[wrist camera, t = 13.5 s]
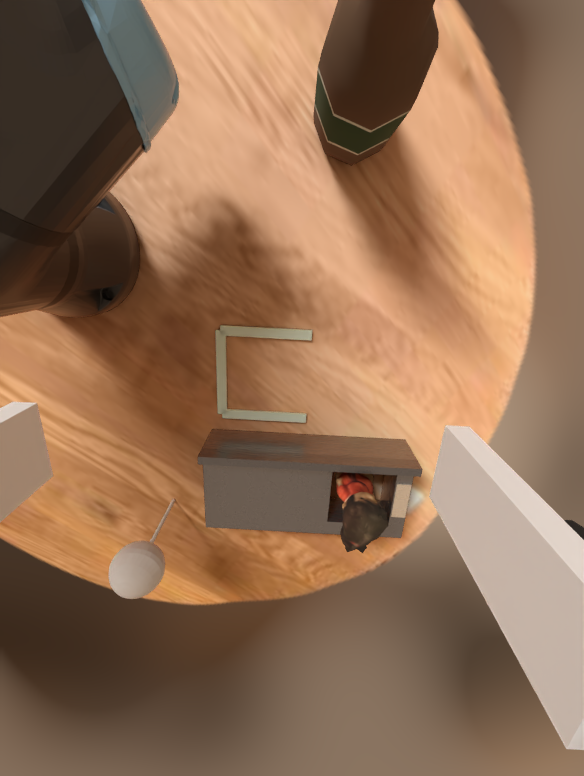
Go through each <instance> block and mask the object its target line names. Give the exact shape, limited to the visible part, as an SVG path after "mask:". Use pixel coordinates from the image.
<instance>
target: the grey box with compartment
mask: <svg viewBox="0 0 584 776" xmlns="http://www.w3.org/2000/svg"><path fill="white" fill-rule="evenodd" d="M198 464H201V465H203V475H204V497H205V518H206V527H214V528H232V529H250V530H268V531H286V532H304V533H322V534H339V535H340V531H341V528H342V526H343V518H342V517H343V508H342V504H343V503H344V502H343V501H342V500H341V499H340V498H331V497H330V491H331V481H332V472H346V473H364V474H382V475H384V480H383V486H382V492H381V498H380V500H376V501H377V503H378V504H379V505H380V506H381V507H382V508H383V509H385V511H386V513H387V520H388V525H389V526H388V527H387V528H386V529H385V530H384V531H383V533H382V534H381V535H380V536H379V537H393V538H401V536H402V531H403V526H404V521H405V516H406V511H407V507H408V502H409V497H410V492H411V487H412V482H413V477H414V476H419V477H421V474H422V468H421V466H420V464H419V463H418V461H417V459H416V457H415V456H414V454H413V452H412V451H411V449H410V447H409V445H408V444H407V442H406V440H401V439H383V438H364V437H346V436H328V435H310V434H291V433H273V432H255V431H237V430H218V429H212V430H211V432H210V434H209V436H208V438H207V440H206V442H205V444H204V446H203V448H202V450H201V452H200V453H199V455H198Z"/></svg>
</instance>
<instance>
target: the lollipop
mask: <svg viewBox="0 0 584 776" xmlns="http://www.w3.org/2000/svg"><path fill="white" fill-rule="evenodd" d="M174 502H175V499H172V501H171V503H170V505H169V507H168V509H167V510H166V512H165V514H164V516H163V518H162V520H161V522H160V524H159V525H158V527H157V529H156V531H155V533H154V535H153V537H152V539H151V540H150V542H149V541H136V542H132V543H130V544H128V545H126V546H124V547H123V548H122V549H121V550H120V551H119V552H118V553H117V554H116V555H115V557H114V558H113V560H112V562H111V564H110V567H109V582H110V585H111V587H112V589H113V590H114V591H115V593H117V594H118V595H119V596H121V597H123V598H128V599H135V598H140V597H143V596H145V595H147V594H148V593H150V592H151V591H152V590H154V589H155V588H156V586H157V585H158V584H159V583H160V581H161V579H162V577H163V575H164V570H165V559H164V555H163V553H162V551H161V550H160V548H159V547H158V546H157V545H155V544H154V541H155V539H156V537H157V535H158V533H159V531H160V529H161V527H162V525H163V523H164V521H165V520H166V518H167V516H168V514H169V512H170V510H171V508H172V506H173V504H174Z"/></svg>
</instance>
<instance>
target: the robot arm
mask: <svg viewBox="0 0 584 776" xmlns="http://www.w3.org/2000/svg"><path fill="white" fill-rule="evenodd" d="M178 99H179V83H178V78H177V74H176V71H175V68H174V65H173V63H172V60H171V58H170V56H169V53H168V51H167V49H166V47H165V45H164V43H163V41H162V39H161V37H160V35H159V33H158V31H157V29H156V27H155V25H154V24H153V22H152V20H151V18H150V16H149V14H148V12H147V10H146V9H145V7H144V5H143V3H142V1H141V0H0V317H3V316H8V315H13V314H18V313H23V312H28V311H33V310H39V311H43V312H47V313H51V314H55V315H59V316H64V317H88V316H92V315H96V314H100V313H103V312H106V311H109V310H111V309H113V308H114V307H116V306H117V305H119V304H120V303H121V302H122V301H123V300H124V299H125V298H126V297H127V296H128V294H129V293H130V292H131V290H132V288H133V286H134V284H135V282H136V279H137V275H138V271H139V263H140V253H139V244H138V239H137V236H136V232H135V230H134V227H133V225H132V222H131V220H130V218H129V216H128V215H127V213H126V211H125V210H124V208H123V207H122V205H121V204H120V203H119V202H118V200H117V199H116V198H115V197H114V196H113V195H112V194H111V193H110V192H109V191H110V190H111V189H112V188H113V186H114V185H115V184H116V183H117V182H118V181H119V179H120V178H121V177H122V176H123V175H124V174H125V173H126V171H127V170H128V169H129V168H130V167H131V166H132V164H133V163H134V162H135V161H136V160H137V159H138V158H139V156H140V155H141V154H142V153H143V152H145V153H147V152H148V151H149V150H150V148H151V141H152V140H153V138H154V137H155V136H156V134H157V133H158V132H159V130H160V129H161V128H162V126H163V125H164V124H165V122H166V121H167V120H168V118H169V117H170V116H171V115H172V113H173V112H174V110H175V108H176V106H177V103H178ZM52 476H53V472H52V468H51V463H50V459H49V455H48V450H47V446H46V441H45V437H44V432H43V428H42V423H41V419H40V414H39V410H38V405H37V403H27V402H12V403H10V404H8V405H6V406H4V407H2V408H0V522H1V521H2V520H3V519H5V518H6V517H7V516H8V515H9V514H10V513H11V512H13V511H14V510H15V509H16V508H17V507H18V506H19V505H21V504H22V503H23V502H24V501H25V500H26V499H27V498H29V497H30V496H31V495H32V494H33V493H34V492H35V491H36V490H38V489H39V488H40V487H41V486H42V485H43V484H44V483H46V482H47V481H48V480H49V479H50V478H51V477H52ZM429 497H430V499H431V501H432V503H433V504H434V506H435V508H436V510H437V512H438V514H439V515H440V517H441V519H442V521H443V523H444V525H445V526H446V528H447V530H448V532H449V534H450V536H451V538H452V539H453V541H454V543H455V545H456V546H457V549H458V550H459V552H460V554H461V556H462V558H463V559H464V561H465V563H466V565H467V567H468V569H469V571H470V572H471V574H472V576H473V578H474V580H475V582H476V584H477V585H478V587H479V589H480V591H481V593H482V595H483V596H484V598H485V600H486V602H487V604H488V606H489V607H490V609H491V611H492V613H493V615H494V617H495V619H496V620H497V622H498V624H499V626H500V628H501V630H502V631H503V633H504V635H505V637H506V639H507V640H508V642H509V644H510V646H511V648H512V650H513V652H514V653H515V655H516V657H517V659H518V661H519V663H520V665H521V666H522V668H523V670H524V672H525V674H526V676H527V677H528V679H529V681H530V683H531V685H532V687H533V688H534V690H535V692H536V694H537V696H538V698H539V699H540V701H541V703H542V705H543V706H544V708H545V710H546V712H547V714H548V716H549V718H550V720H551V721H552V723H553V725H554V727H555V729H556V731H557V732H558V734H559V736H560V738H561V740H562V742H563V744H564V745H565V747H566V749H578V750H584V528H583V527H582V526H580V525H579V524H577V523H576V522H574V521H572V520H563V519H562V518H561V517H560V516H559V515H558V514H557V513H556V512H555V511H554V510H553V509H552V508H551V507H550V506H549V505H548V504H547V503H546V502H545V501H544V500H543V499H542V498H541V497H540V496H539V495H538V494H537V493H536V492H535V491H534V490H533V489H532V488H530V486H529V485H528V484H527V483H526V482H525V481H524V480H523V479H521V477H520V476H518V474H517V473H516V472H515V471H513V469H512V468H511V467H510V466H508V465H507V464H506V463H505V462H504V461H503V460H502V459H501V458H500V457H499V456H498V455H497V454H496V453H495V452H494V451H493V450H492V449H491V448H490V447H489V446H488V445H487V444H486V443H485V442H484V441H483V440H482V439H481V438H480V437H479V436H478V435H477V434H476V433H475V432H474V431H473V430H472V429H471V428H470V427H466V426H447V425H445V429H444V434H443V438H442V443H441V447H440V451H439V456H438V460H437V465H436V469H435V473H434V478H433V482H432V487H431V491H430V496H429Z"/></svg>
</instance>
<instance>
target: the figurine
mask: <svg viewBox="0 0 584 776" xmlns="http://www.w3.org/2000/svg"><path fill="white" fill-rule="evenodd" d="M373 478H374V477H373V474H364V473H346V472H335V480H336V491H337V494H338V496H339V498H340V499H341V500H342V501H343V502H344V503H343V504H342V508H343V517H342V518H343V526H342V528H341V531H340V535H341V539H342V542H343V544H344V545H345V549H346V551H347V552H349V551H353V550H355V549H358V550H359V551H360V552H362V553H363V552H364V550H365V549H366V548H367V547H366V545H368V544H369V543H370V542H371V541H373V540H375V539H377V538H378V537H379V536H380V535H381V534H382V533H383V531H384V530H385V529H386V528H387V527H388V526H389V525H388V520H387V513H386V511H385V509H383V508H382V507H381V506H380V505H379V504H378V503H377V501H376V500H375V496H374V494H373V489H374V488H373V485H372V482H373Z"/></svg>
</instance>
